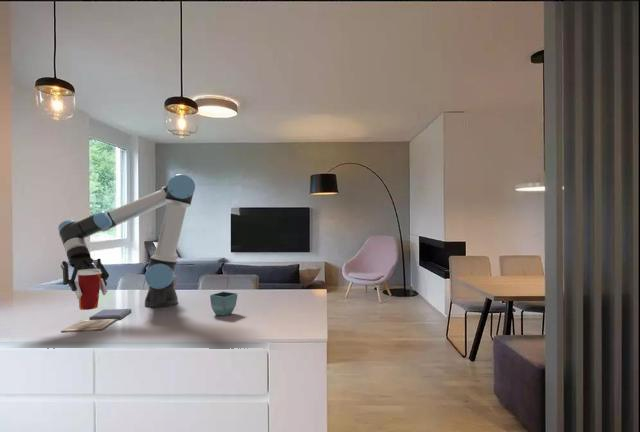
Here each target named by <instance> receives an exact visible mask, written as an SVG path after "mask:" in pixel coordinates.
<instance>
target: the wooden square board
mask: <svg viewBox="0 0 640 432" xmlns="http://www.w3.org/2000/svg"><path fill="white" fill-rule="evenodd" d="M118 320H119V319H102V320H89V319H86V320H85V319H81V320H78V321H77V322H75V323H74V324H71V325H70V326H67V327H66V328H65V329H63V330H61V333H70V332H71V333H72V332H92V331H95V332H96V331H103V330H105V329H107V328H108V327H110V326H111V325H113V323H115V322H117V321H118Z"/></svg>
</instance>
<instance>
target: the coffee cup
mask: <svg viewBox="0 0 640 432" xmlns="http://www.w3.org/2000/svg"><path fill="white" fill-rule="evenodd" d="M101 273H102V272H101V270H100V269H97V268H96V269H84V270H78V272H77V275H76V276H77V281H78V284H79V287H80V290H81V293H82V296H81V298H80V299H78V308H79V310H81V311H87V310H88V311H89V310H93V309H94V310H95V309H97V308H99V306H98V305H99V299H100V290H101V288H100V279H101Z"/></svg>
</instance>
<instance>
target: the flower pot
mask: <svg viewBox="0 0 640 432" xmlns="http://www.w3.org/2000/svg"><path fill="white" fill-rule="evenodd" d="M209 297H210V305H211V309H212V311H213V313H214V314H215V315H217V316H222V317H225V316H227V315H231V314H232V313H233V312H234V310H235V308H236V306H237V300H238V293H236V292H229V291H221V292H220V291H219V292H216V293H213V294H209Z"/></svg>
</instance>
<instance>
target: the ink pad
mask: <svg viewBox="0 0 640 432" xmlns="http://www.w3.org/2000/svg"><path fill="white" fill-rule="evenodd" d="M130 313H132V308H117V309H102V310H100V311H97V313H94V314H93V315H91V316H89V317H88V318H89V319H88V320H102V319H118V320H122V319H123V318H125V317H126V316H128V315H129V314H130Z"/></svg>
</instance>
